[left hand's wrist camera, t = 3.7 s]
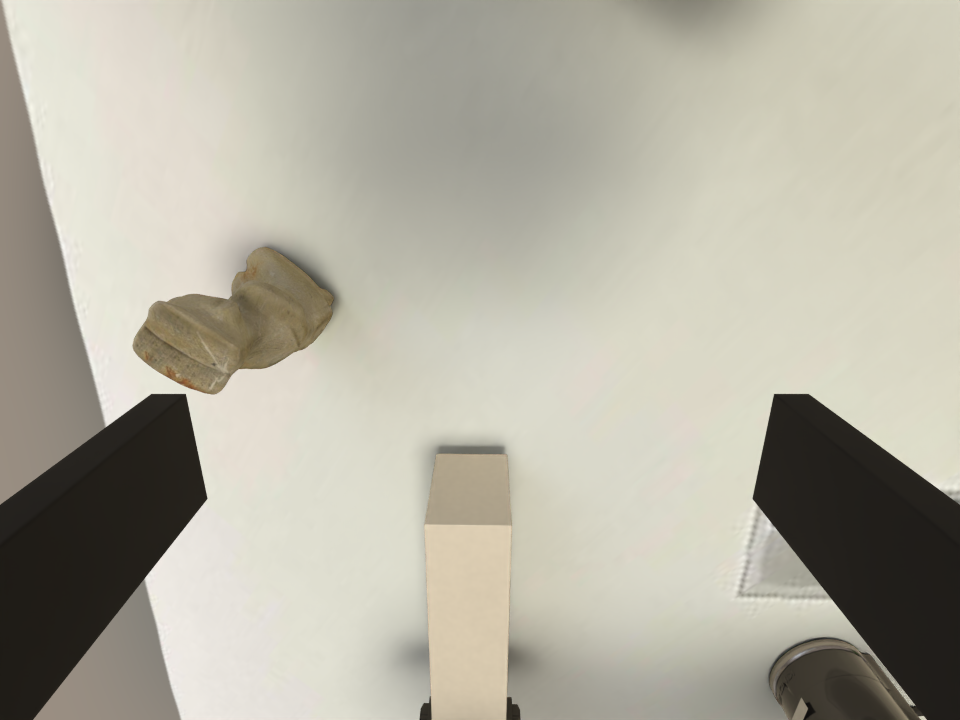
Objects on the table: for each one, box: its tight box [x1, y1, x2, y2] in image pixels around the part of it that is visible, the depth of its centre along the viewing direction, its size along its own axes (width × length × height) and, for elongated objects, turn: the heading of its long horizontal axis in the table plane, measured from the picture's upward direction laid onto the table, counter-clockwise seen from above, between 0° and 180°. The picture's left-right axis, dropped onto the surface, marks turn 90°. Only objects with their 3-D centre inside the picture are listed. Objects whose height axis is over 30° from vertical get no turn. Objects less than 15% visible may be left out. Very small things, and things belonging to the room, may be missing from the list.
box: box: [424, 454, 512, 720], centre depth 45 cm, size 26×6×9 cm, turn 0°
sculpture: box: [133, 247, 334, 394], centre depth 34 cm, size 6×7×15 cm
